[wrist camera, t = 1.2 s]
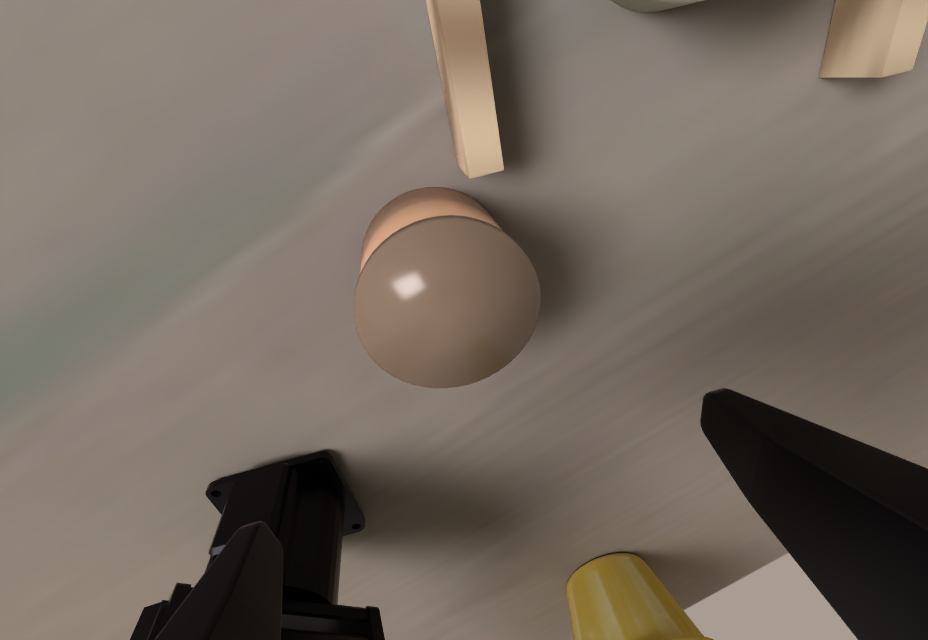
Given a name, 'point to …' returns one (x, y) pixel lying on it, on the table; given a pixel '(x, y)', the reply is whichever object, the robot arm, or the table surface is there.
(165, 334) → the table surface
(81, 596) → the table surface
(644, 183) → the table surface
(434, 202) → the jar
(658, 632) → the plant pot
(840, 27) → the lane
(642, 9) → the stock jar
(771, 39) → the table surface
